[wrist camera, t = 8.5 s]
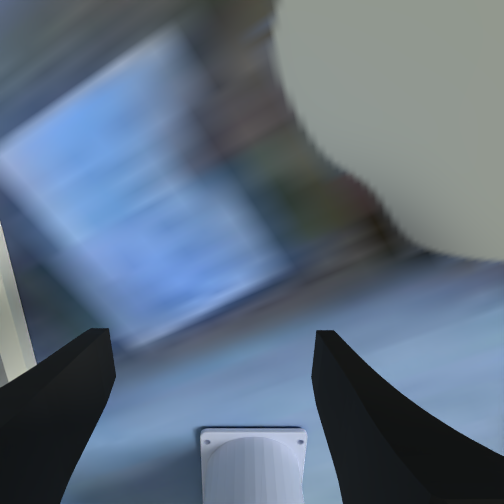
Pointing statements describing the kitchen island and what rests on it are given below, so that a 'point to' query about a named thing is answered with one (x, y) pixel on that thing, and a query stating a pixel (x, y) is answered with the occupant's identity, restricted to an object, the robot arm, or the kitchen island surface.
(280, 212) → the kitchen island surface
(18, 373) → the coupling stand
